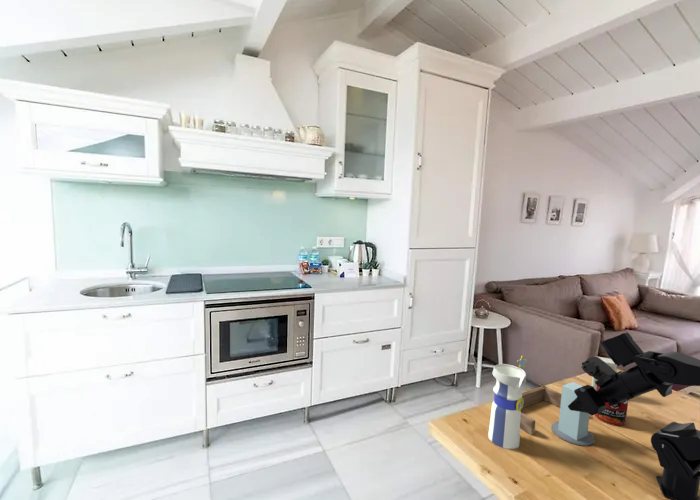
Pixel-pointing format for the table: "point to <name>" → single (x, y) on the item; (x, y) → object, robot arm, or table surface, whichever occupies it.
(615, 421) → the canned food
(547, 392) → the u-shaped wooden frame
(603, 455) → the table surface
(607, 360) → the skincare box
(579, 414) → the block
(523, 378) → the blue striped jug
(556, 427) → the coaster
